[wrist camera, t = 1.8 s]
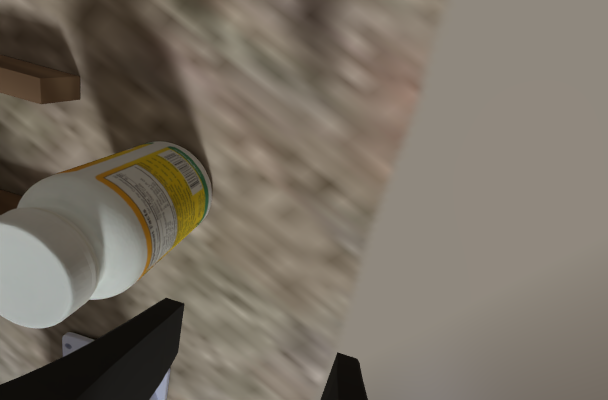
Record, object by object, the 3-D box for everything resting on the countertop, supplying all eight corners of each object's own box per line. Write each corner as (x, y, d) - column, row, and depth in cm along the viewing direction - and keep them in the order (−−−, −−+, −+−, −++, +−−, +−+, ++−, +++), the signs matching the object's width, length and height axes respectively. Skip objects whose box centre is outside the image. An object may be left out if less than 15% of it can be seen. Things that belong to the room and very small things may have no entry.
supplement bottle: (218, 151, 19) (89, 225, 10) (210, 239, 21) (96, 363, 12) (125, 129, 20) (-74, 183, 11) (125, 217, 22) (-42, 323, 13)
